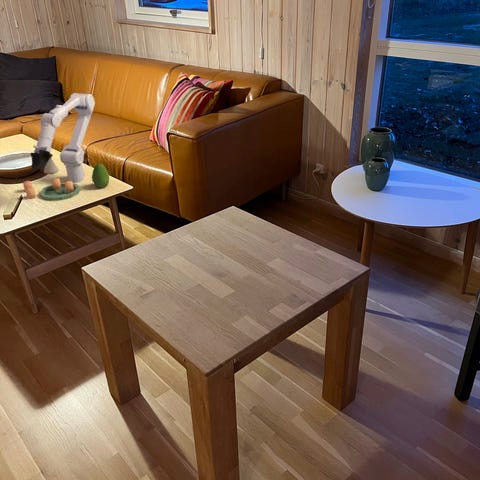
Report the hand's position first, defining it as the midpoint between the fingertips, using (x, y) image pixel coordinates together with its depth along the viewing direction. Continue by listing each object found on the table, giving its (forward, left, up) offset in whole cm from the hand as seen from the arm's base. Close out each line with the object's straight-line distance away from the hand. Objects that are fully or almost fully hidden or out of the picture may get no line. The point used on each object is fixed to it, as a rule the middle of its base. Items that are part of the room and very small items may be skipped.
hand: (37, 168), depth 204 cm
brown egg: (-11, -10, -15) cm, 21 cm away
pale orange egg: (-3, -7, -15) cm, 17 cm away
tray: (-7, +5, -15) cm, 18 cm away
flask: (-37, -7, -16) cm, 40 cm away
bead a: (-7, +10, -15) cm, 19 cm away
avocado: (-13, +23, -16) cm, 31 cm away
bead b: (-11, +3, -15) cm, 18 cm away
